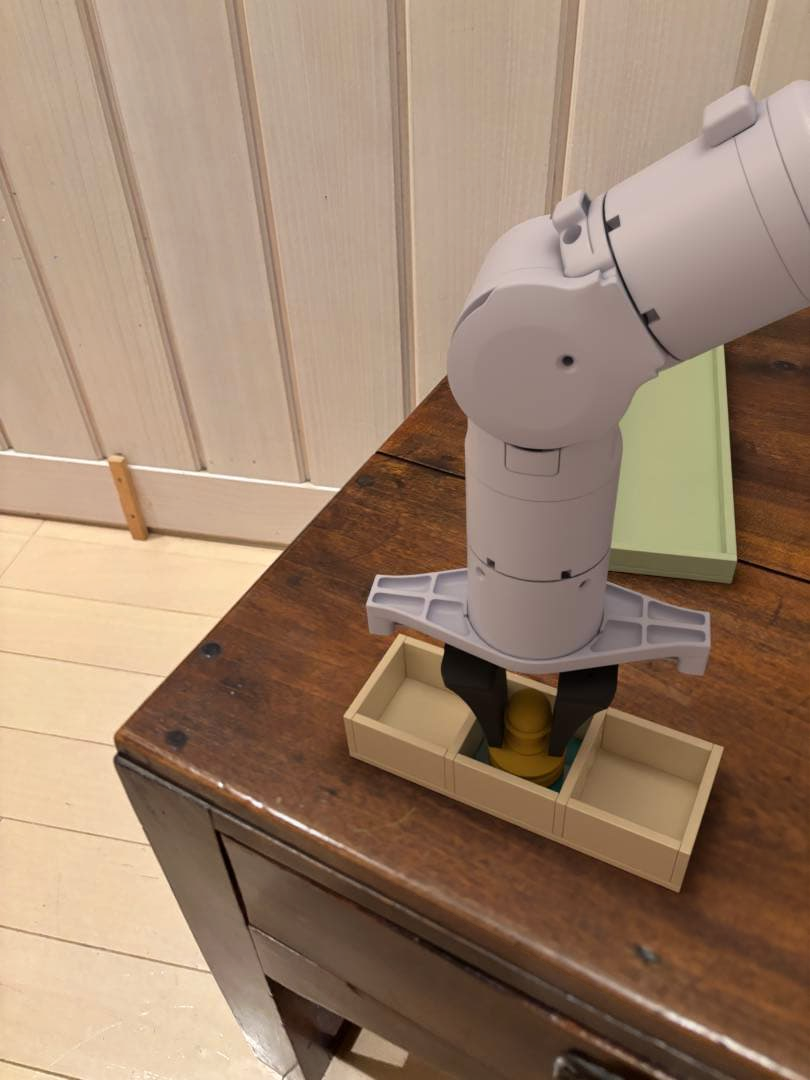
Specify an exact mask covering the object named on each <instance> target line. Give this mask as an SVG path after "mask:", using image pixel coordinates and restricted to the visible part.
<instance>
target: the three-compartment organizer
mask: <svg viewBox="0 0 810 1080" xmlns="http://www.w3.org/2000/svg"><path fill="white" fill-rule="evenodd" d="M443 654H444V647H440V646H437V645H433V644H431V643H429V642H425V641H423V640H420V639H417V638H414V637H411V636H407V635H406V634H402V633H398V635H397V636H396V637H395V639H394V641H393V642H392V643H391V645H390V647H389V648H388V649H387V651H386V653H385V654H384V655H383V657H382V658H381V660H380V661H379V662H378V664H377V666H376V667H375V669H374V670H373V672H372V673H371V675H370V676H369V678H368V679H367V680H366V682H365V683H364V685H363V686H362V688H361V689H360V691H359V692H358V694H357V695H356V697H355V698H354V700H353V701H352V703H351V704H350V706H348V708H347V709H346V711H345V713H344V714H343V716H342V717H343V718H342V719H343V723H344V724H343V725H344V729H345V730H344V731H345V734H346V735H345V736H346V741H347V747H348V750H349V752H348V753H349V756H350V757H351V758H354V759H356V760H359V761H360V762H361V761H362V762H364V763H366V764H367V765H371V766H373V767H376V768H378V769H380V770H382V771H385V772H388V773H390V774H392V775H395V776H396V777H400V778H402V779H405V780H406V781H410V782H412V783H414V784H417V785H418V786H421V787H423V788H426V789H428V790H431V791H432V792H436V793H438V794H441V795H443V796H445V797H447V798H450V799H452V800H455V801H457V802H459V803H461V804H465V805H467V806H469V807H472V808H474V809H477V810H479V811H481V812H483V813H486V814H488V815H490V816H493V817H496V818H498V819H501V820H503V821H505V822H507V823H510V824H512V825H515V826H517V827H520V828H522V829H524V830H527V831H529V832H531V833H534V834H536V835H539V836H541V837H543V838H546V839H549V840H551V841H553V842H556V843H558V844H561V845H562V846H565V847H568V848H570V849H572V850H575V851H577V852H580V853H582V854H585V855H587V856H588V857H592V858H594V859H597V860H599V861H600V862H603V863H606V864H608V865H611V866H613V867H615V868H618V869H621V870H623V871H625V872H628V873H629V874H632V875H634V876H637V877H639V878H642V879H644V880H646V881H649V882H651V883H654V884H656V885H658V886H661V887H664V888H666V889H668V890H670V891H673V892H675V893H680V892H681V888H682V886H683V882H684V879H685V876H686V872H687V869H688V866H689V863H690V860H691V856H692V853H693V850H694V848H695V844H696V841H697V838H698V834H699V831H700V828H701V825H702V821H703V819H704V815H705V812H706V809H707V807H708V803H709V799H710V796H711V793H712V790H713V787H714V784H715V779H716V777H717V773H718V770H719V766H720V764H721V760H722V757H723V752H724V750H725V747H724V746H722V745H718V744H717V743H713V742H710V741H708V740H705V739H702V738H699V737H696V736H693V735H691V734H688V733H685V732H682V731H680V730H676V729H674V728H670V727H668V726H665V725H661V724H659V723H656V722H654V721H650V720H648V719H645V718H642V717H640V716H636V715H634V714H631V713H628V712H626V711H623V710H619V709H617V708H615V707H614V708H613V707H611V706H609V707H608V709H606V710H603V711H600V712H598V713H596V714H595V715H593V716H592V717H590V718H589V719H588V720H587V721H585V722H584V723H583V724H582V725H581V726H580V728H579V729H578V730H577V731H576V732H575V734H574V735H573V737H572V738H571V740H570V741H569V743H568V745H567V751H566V757H565V765H564V769H563V772H562V774H561V775H560V777H559V778H558V779H557V780H556V781H555V782H554V783H553V784H551V785H549V786H548V787H546V788H545V787H542V786H540V785H537V784H535V783H532V782H530V781H527V780H525V779H522V778H520V777H517V776H514V775H512V774H509V773H507V772H504V771H502V770H499V769H497V768H494V767H492V766H490V765H489V761H488V744H487V740H486V737H485V735H484V732H483V730H482V728H481V726H480V724H479V722H478V720H477V718H476V717H475V715H474V713H473V712H472V710H471V709H470V708H469V706H468V705H467V704H466V703H465V702H464V701H463V700H462V699H461V698H460V697H459V696H458V695H457V694H455V693H454V692H453V691H451V690H449V689H448V688H446V687H445V685H444V682H443V679H442V675H441V663H442V658H443ZM506 675H507V689H508V701H509V699H510V697H511V696H512V695H513V694H514V693H515V692H516V691H518V690H520V689H523V688H534V689H537V690H539V691H541V692H542V693H543V694H545V696H546V697H547V698H548V700H549V702H550V705H551V711H552V714H553V710H554V704H555V699H556V694H557V687H553V686H551V685H548V684H545V683H543V682H540V681H536V680H533V679H530V678H528V677H525V676H521V675H520V674H516V673H513V672H511V671H509V670H506Z"/></svg>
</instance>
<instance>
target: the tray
mask: <svg viewBox="0 0 810 1080" xmlns="http://www.w3.org/2000/svg"><path fill="white" fill-rule="evenodd" d="M725 359H726V357H725V344H723V345H721V346H719V347H716V348H714V349H712V350H710V351H707V352H705V353H703V354H701V355H699V356H696V357H694V358H692V359H689V360H686V361H685V362H683V363H680V364H678V365H676V366H674V367H671V368H669V369H667V370H664V371H661V372H659V375H658V377H656V378H654V379H652V380H650V381H648V382H646V383H644V384H643V385H642V386H640V387H639V388H638V389H637V391H636V392H635V394H634V396H633V398H632V401H631V404H630V406H629V408H628V409H627V411H626V413H625V414H624V416H623V417H622V419H621V420H620V421H619V422H618V423H619V427H620V430H621V434H622V441H623V454H622V462H621V470H620V478H619V486H618V493H617V501H616V509H615V517H614V525H613V533H612V542H611V550H610V558H609V567H608V572H617V573H619V572H620V573H625V574H626V573H629V574H636V575H647V576H656V577H663V578H664V577H665V578H675V579H682V580H692V581H702V582H710V583H711V582H712V583H720V584H729V585H731V584H733V579H734V576H735V572H736V568H737V563H738V551H737V535H736V533H737V532H736V520H735V518H736V517H735V504H734V503H735V502H734V501H735V500H734V487H733V471H732V469H733V468H732V458H731V457H732V456H731V455H732V454H731V440H730V439H731V438H730V423H729V404H728V391H727V389H728V388H727V375H726V374H727V373H726V360H725Z"/></svg>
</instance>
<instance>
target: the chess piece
mask: <svg viewBox="0 0 810 1080" xmlns="http://www.w3.org/2000/svg"><path fill="white" fill-rule="evenodd" d="M503 721H504V724H505V731H504V737H503V743H502V749H500V748H493V747H489V746H488V761H489V765H490V766H492V767H494V768H497V769H499V770H502V771H504V772H507V773H509V774H512V775H514V776H517V777H520V778H522V779H525V780H527V781H530V782H532V783H535V784H537V785H540V786H542V787H545V788H546V787H548V786H549V785H551V784H553V783H554V782H555V781H556V780H557V779H558V778H559V777H560V775H561V774H562V772H563V769H564V765H565V757H566V751H567V747H566V749H565V751H564V754H563V756H562V757H561V758H560V757H554V756H548V753H549V742H550V734H551V727H552V723H553V714H552V711H551V705H550V702H549V700H548V698H547V697H546V696H545V694H543V693H542V692H541V691H539V690H537V689H534V688H523V689H520V690H518V691H516V692H515V693H514V694H513V695H512V696H511V697H510V699H509V701H508V704H507V707H506V708H505V711H504V717H503Z"/></svg>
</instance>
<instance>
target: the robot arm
mask: <svg viewBox="0 0 810 1080" xmlns="http://www.w3.org/2000/svg"><path fill="white" fill-rule="evenodd" d="M702 115H703V116H702V123H701V132H702V134H701V135H699V136H698V137H696V138H694V139H693V140H691V141H689V142H687V143H685V144H684V145H682V146H681V147H679V148H677V149H675V150H674V151H672V152H670V153H668V154H667V155H665V156H663V157H662V158H660V159H659V160H657V161H655V162H653V163H651V164H650V165H648V166H647V167H645V168H643V169H641V170H639V171H638V172H636V173H635V174H633V175H631V176H629V177H628V178H626V179H624V180H623V181H621V182H619V183H618V184H616V185H614V186H612V187H611V188H609V189H607V190H606V191H604V192H602V193H601V194H598V195H597V196H595V197H594V198H593V199H592V198H591V197H590V195H589V194H588V192H587V191H586V189H583V188H581V189H578V190H576V191H575V192H572V194H570V195H568V196H566V197H565V198H563V199H562V200H560V201H558V203H556V205H555V208H554V211H553V214H551V213H549V214H542V215H540V216H539V215H538V216H535V217H532V218H528V219H527V220H524V221H522V222H520V223H517V224H516V225H514V226H513V227H511V228H510V229H508V230H506V232H504V233H503V234H502V235H500V237H499V238H498V239H497V240H496V241H495V242H494V244H493V245H492V246H491V248H490V249H489V250H488V252H487V255H486V256H485V258H484V260H483V261H482V264H481V266H480V268H479V271H478V273H477V276H476V278H475V280H474V281H473V282H474V283H473V284H472V287H471V289H470V292H469V294H468V296H467V298H466V299H465V300H466V301H465V303H464V304H463V307H462V310H461V311H460V314H459V316H458V318H457V320H456V322H455V325H454V326H453V330H452V333H451V337H450V342H449V346H448V348H447V349H448V350H447V354H446V376H447V383H448V385H449V388H450V392H451V394H452V396H453V398H454V400H455V402H456V403H457V405H458V407H459V408H460V410H461V411H462V412H463V414H464V415H465V416H466V417H467V431H466V435H465V439H464V462H465V463H464V464H465V465H464V466H465V467H464V468H465V471H464V473H465V475H464V476H465V520H466V521H465V523H466V524H465V525H466V527H465V528H466V565H467V566H466V567H463V568H455V569H449V570H441V571H433V572H425V573H418V574H408V575H392V574H391V575H390V574H375V577H374V579H373V583H372V585H371V588H370V592H369V594H368V597H367V600H366V603H365V608H366V616H367V624H368V631H369V634H371V635H377V636H384V637H388V636H389V637H390V636H391V635H393V634H394V633H395V631H396V627H398V628H399V627H400V628H408V629H412V630H415V631H417V632H420V633H422V634H425V635H426V636H429V637H431V638H433V639H435V640H438V641H440V642H442V643H444V646H443V649H444V654H443V658H442V663H441V675H442V679H443V682H444V685H445V687H446V688H448V689H449V690H451V691H453V692H454V693H455V694H457V695H458V696H459V697H460V698H461V699H462V700H463V701H464V702H465V703H466V704H467V705H468V706H469V708H470V709H471V710H472V712H473V713H474V715H475V717H476V718H477V720H478V722H479V724H480V726H481V728H482V730H483V732H484V735H485V737H486V740H487V744H488V746H489V747H493V748H500V749H502V743H503V737H504V731H505V724H504V721H503V717H504V711H505V708H506V707H507V704H508V689H507V675H506V671H510V672H511V671H512V672H515V673H520V674H526V675H551V674H557V673H558V679H557V687H556V688H557V694H556V699H555V704H554V710H553V723H552V727H551V734H550V742H549V753H548V756H554V757H560V758H561V757H562V756H563V754H564V751H565V749H566V747H567V745H568V743H569V741H570V740H571V738H572V737H573V735H574V734H575V732H576V731H577V730H578V729H579V728H580V726H581V725H582V724H583V723H584V722H585V721H587V720H588V719H589V718H590V717H592V716H593V715H595V714H596V713H598V712H600V711H603V710H606V709H608V708H609V707H611V704H612V702H613V701H614V698H615V696H616V694H617V689H618V681H619V680H618V679H619V665H620V664H627V663H634V662H640V661H641V662H643V661H647V660H655V659H656V660H664V661H673V662H676V669H677V672H679V673H681V674H685V675H692V676H699V677H703V676H704V675H705V671H706V667H707V664H708V660H709V655H710V651H711V647H712V637H711V635H712V634H711V633H712V632H711V613H710V612H709V611H704V610H696V609H691V608H687V607H681V606H677V605H674V604H672V603H668V602H665V601H662V600H659V599H657V598H654V597H651V596H648V595H647V594H643V593H641V592H639V591H638V592H637V591H634V590H633V589H630V588H627V587H624V586H621V585H619V584H616V583H613V582H610V581H609V580H608V573H609V571H608V567H609V558H610V550H611V542H612V533H613V525H614V517H615V509H616V501H617V493H618V486H619V478H620V470H621V462H622V454H623V441H622V434H621V430H620V427H619V423H618V422H619V421H620V420H621V419H622V417H623V416H624V414H625V413H626V411H627V409H628V408H629V406H630V404H631V401H632V398H633V396H634V394H635V392H636V391H637V389H638V388H639V387H640V386H642V385H643V384H644V383H646V382H648V381H650V380H652V379H654V378H656V377H658V375H659V372H661V371H664V370H667V369H669V368H671V367H674V366H676V365H678V364H680V363H683V362H685V361H686V360H689V359H692V358H694V357H696V356H699V355H701V354H703V353H705V352H707V351H710V350H712V349H714V348H716V347H719V346H721V345H723V344H724V345H726V344H727V343H731V342H732V341H735V340H736V339H739V338H741V337H743V336H746V335H748V334H750V333H752V332H754V331H755V332H756V330H760V329H761V328H763V327H766V326H768V325H771V324H772V323H775V322H777V321H780V320H782V319H784V318H786V317H788V316H791V315H793V314H795V313H797V312H800V311H801V310H805V309H806V308H809V307H810V80H807V79H797V80H793V81H792V82H790V83H788V84H787V85H786V86H783V87H782V88H781V89H779V90H777V91H776V92H774V93H773V94H770V95H769V96H766V97H764V98H763V99H761V100H759V101H758V102H757V100H756V99H755V96H754V94H753V92H752V90H751V88H750V86H749V85H746V84H742V85H740V86H738V87H736V88H735V89H733V90H731V91H730V92H728V93H726V94H724V95H723V96H721V97H719V98H717V99H716V100H714V101H713V102H711V103H709V104H708V105H707V106H705V107H704V109H703V114H702Z"/></svg>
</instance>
